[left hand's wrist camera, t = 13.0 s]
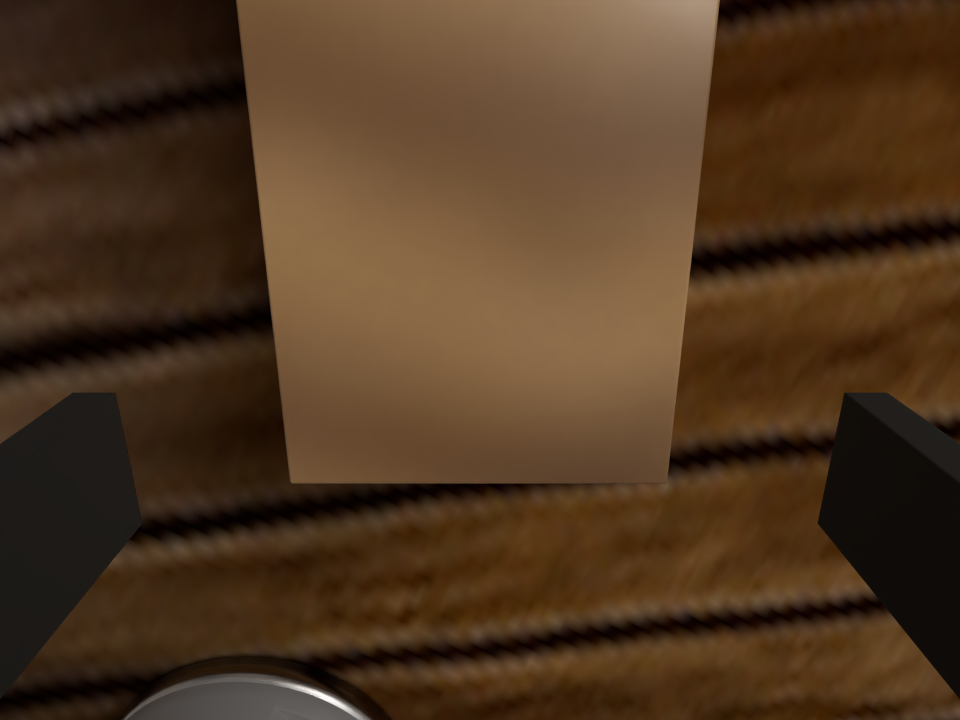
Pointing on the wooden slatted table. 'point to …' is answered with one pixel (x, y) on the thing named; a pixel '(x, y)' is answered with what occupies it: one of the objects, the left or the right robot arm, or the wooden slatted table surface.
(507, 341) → the cabinet
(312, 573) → the wooden slatted table surface
